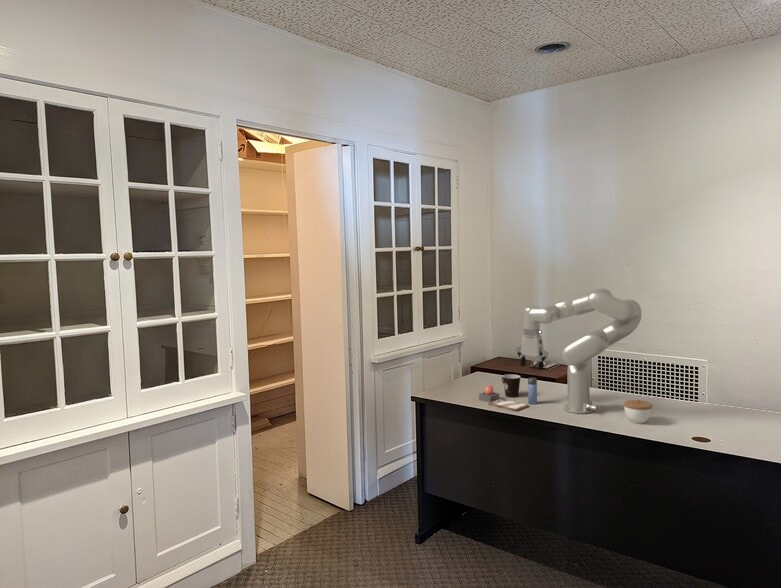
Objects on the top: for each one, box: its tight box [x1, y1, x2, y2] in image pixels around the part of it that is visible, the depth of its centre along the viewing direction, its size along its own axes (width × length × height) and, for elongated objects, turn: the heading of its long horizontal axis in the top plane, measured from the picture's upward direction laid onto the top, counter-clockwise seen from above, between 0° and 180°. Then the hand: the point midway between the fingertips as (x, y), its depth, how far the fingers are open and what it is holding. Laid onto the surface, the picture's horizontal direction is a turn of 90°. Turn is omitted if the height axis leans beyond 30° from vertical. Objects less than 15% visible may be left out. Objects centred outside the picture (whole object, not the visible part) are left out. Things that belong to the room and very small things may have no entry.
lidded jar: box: [623, 398, 653, 425], centre depth 227 cm, size 11×11×9 cm
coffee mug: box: [501, 373, 521, 398], centre depth 273 cm, size 12×9×10 cm
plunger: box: [484, 385, 494, 395], centre depth 266 cm, size 4×4×5 cm
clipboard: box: [487, 398, 530, 412], centre depth 256 cm, size 16×10×1 cm, turn 41°
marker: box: [527, 377, 538, 405], centre depth 258 cm, size 4×4×12 cm
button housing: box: [478, 391, 500, 403], centre depth 267 cm, size 7×7×3 cm
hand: (531, 367), depth 257 cm, fingers open, 9 cm apart
